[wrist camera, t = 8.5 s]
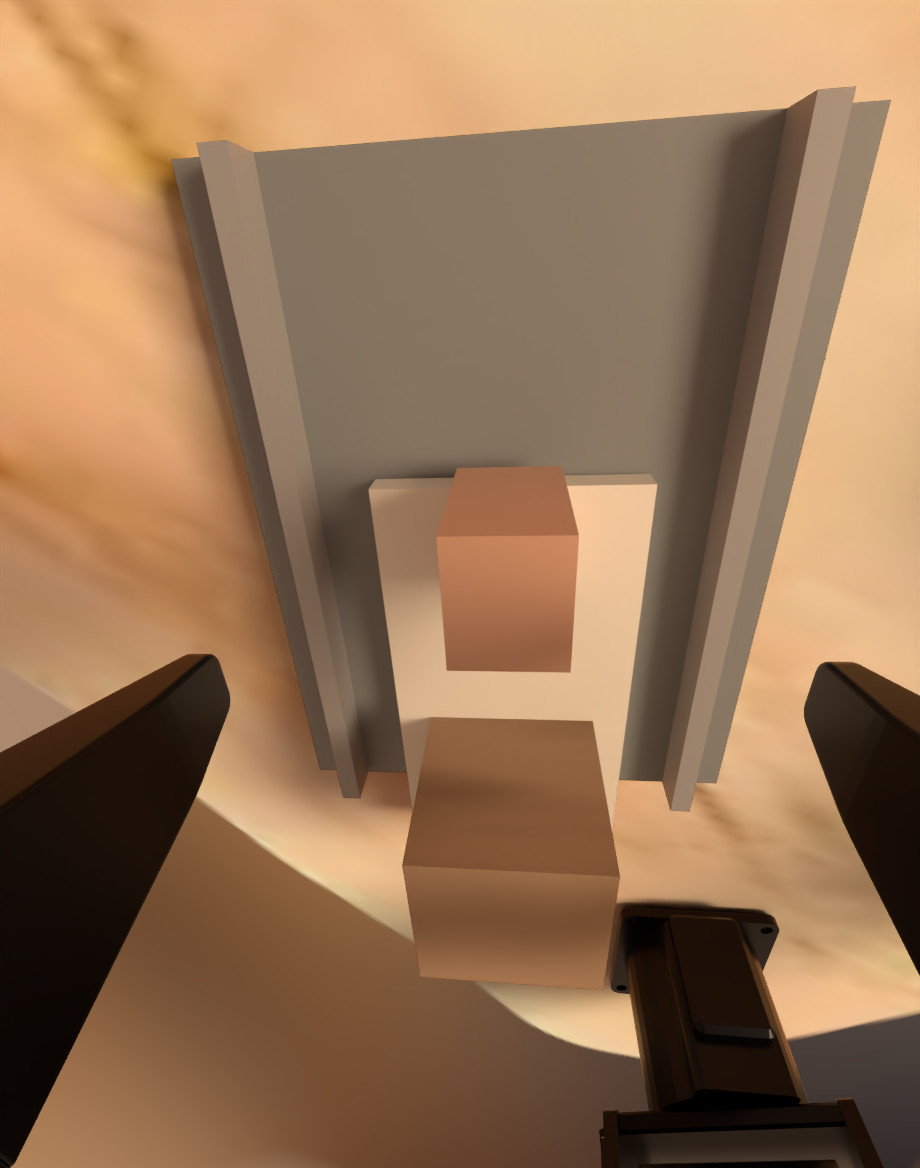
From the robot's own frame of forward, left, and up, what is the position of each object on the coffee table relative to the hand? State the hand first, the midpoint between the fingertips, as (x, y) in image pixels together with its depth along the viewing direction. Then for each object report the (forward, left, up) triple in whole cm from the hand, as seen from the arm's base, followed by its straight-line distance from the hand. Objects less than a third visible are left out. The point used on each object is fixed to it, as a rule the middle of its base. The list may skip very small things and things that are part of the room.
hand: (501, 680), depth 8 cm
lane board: (-1, 0, -8) cm, 8 cm away
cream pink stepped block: (-6, 0, -7) cm, 9 cm away
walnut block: (-9, 0, -6) cm, 11 cm away
